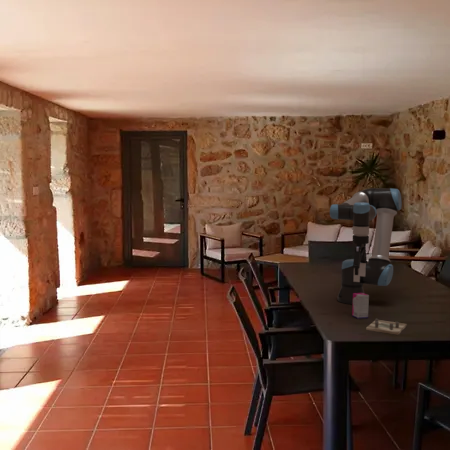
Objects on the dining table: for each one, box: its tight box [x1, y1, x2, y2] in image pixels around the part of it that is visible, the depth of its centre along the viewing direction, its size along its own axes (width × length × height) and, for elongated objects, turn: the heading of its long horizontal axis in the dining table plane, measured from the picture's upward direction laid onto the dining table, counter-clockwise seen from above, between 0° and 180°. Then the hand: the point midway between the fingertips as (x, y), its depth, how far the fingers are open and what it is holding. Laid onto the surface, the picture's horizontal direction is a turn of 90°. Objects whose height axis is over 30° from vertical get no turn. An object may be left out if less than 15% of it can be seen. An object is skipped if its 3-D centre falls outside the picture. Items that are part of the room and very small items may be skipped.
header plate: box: [365, 318, 408, 336], centre depth 243 cm, size 16×14×4 cm
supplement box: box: [351, 292, 370, 320], centre depth 261 cm, size 6×6×12 cm
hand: (359, 278), depth 258 cm, fingers open, 13 cm apart
